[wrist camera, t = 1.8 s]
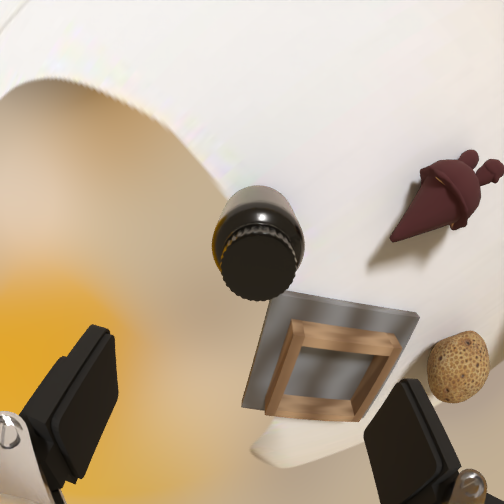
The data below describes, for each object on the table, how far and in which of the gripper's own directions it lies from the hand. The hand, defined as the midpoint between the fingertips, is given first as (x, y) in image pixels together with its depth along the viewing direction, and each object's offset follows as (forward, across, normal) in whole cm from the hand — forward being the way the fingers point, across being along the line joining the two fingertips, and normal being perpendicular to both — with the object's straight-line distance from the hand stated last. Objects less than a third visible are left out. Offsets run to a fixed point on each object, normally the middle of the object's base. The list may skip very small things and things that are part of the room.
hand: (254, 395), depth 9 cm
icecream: (+23, -17, -7) cm, 30 cm away
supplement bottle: (+23, 0, 0) cm, 23 cm away
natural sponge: (+23, -28, +11) cm, 38 cm away
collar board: (+23, -12, +16) cm, 31 cm away
